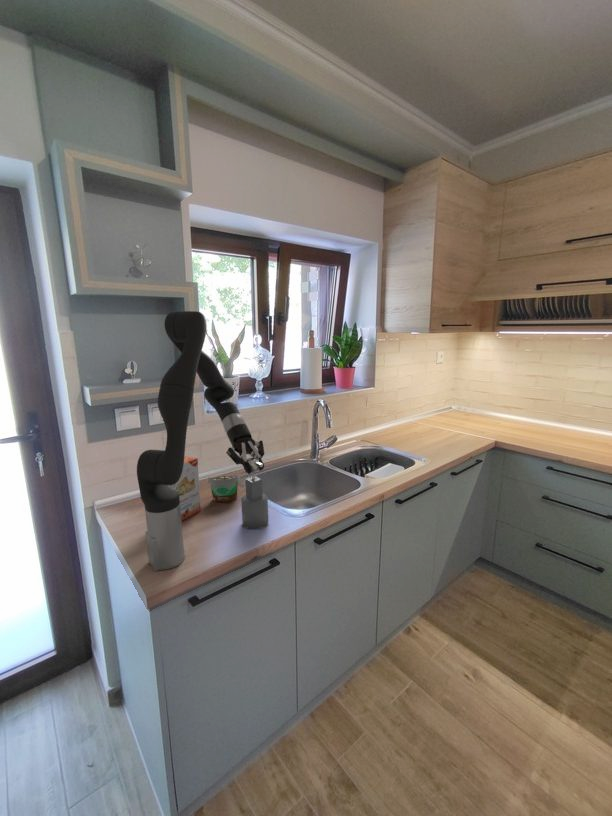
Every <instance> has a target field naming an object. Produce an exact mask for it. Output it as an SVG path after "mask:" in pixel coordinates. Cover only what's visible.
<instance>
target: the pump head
mask: <svg viewBox="0 0 612 816" xmlns="http://www.w3.org/2000/svg"><path fill="white" fill-rule="evenodd" d="M247 461H248V462H249V465H250V467H251V469H252V472H251V477H252V480H255V476H256V472H257V471H260V470H259V467H263V464H264V463H263V464H262V463H260V462H259V459H258V458H253V457H249V458H247Z"/></svg>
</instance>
